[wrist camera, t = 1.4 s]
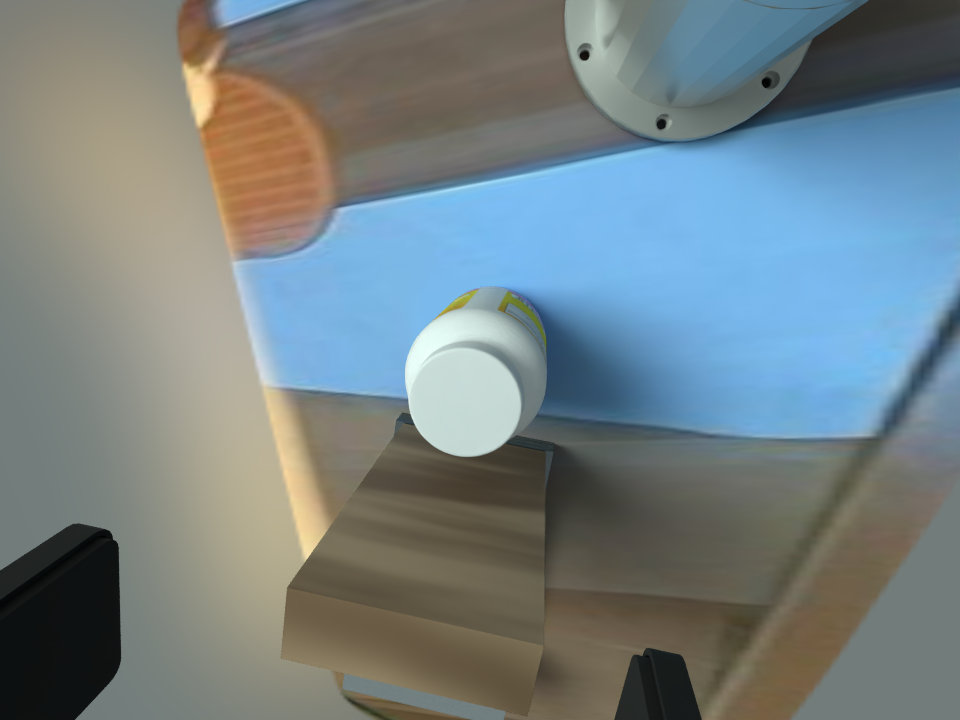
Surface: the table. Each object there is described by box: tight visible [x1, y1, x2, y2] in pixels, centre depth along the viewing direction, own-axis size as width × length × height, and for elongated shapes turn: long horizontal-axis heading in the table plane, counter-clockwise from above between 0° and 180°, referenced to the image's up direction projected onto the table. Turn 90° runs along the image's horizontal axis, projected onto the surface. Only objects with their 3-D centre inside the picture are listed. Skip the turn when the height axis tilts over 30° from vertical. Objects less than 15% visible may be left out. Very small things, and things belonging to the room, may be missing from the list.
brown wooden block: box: [281, 423, 546, 716], centre depth 27 cm, size 3×9×16 cm, turn 80°
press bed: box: [343, 413, 554, 720], centre depth 36 cm, size 16×10×6 cm, turn 170°
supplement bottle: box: [405, 286, 547, 457], centre depth 29 cm, size 7×7×13 cm
